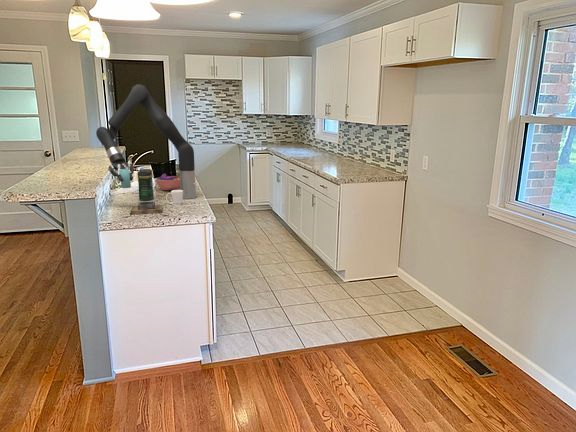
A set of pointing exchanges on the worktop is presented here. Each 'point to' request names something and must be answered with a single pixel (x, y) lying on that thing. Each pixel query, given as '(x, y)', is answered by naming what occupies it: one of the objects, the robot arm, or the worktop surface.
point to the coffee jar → (145, 185)
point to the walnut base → (146, 208)
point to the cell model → (168, 182)
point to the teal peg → (125, 178)
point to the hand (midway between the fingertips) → (127, 180)
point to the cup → (176, 197)
